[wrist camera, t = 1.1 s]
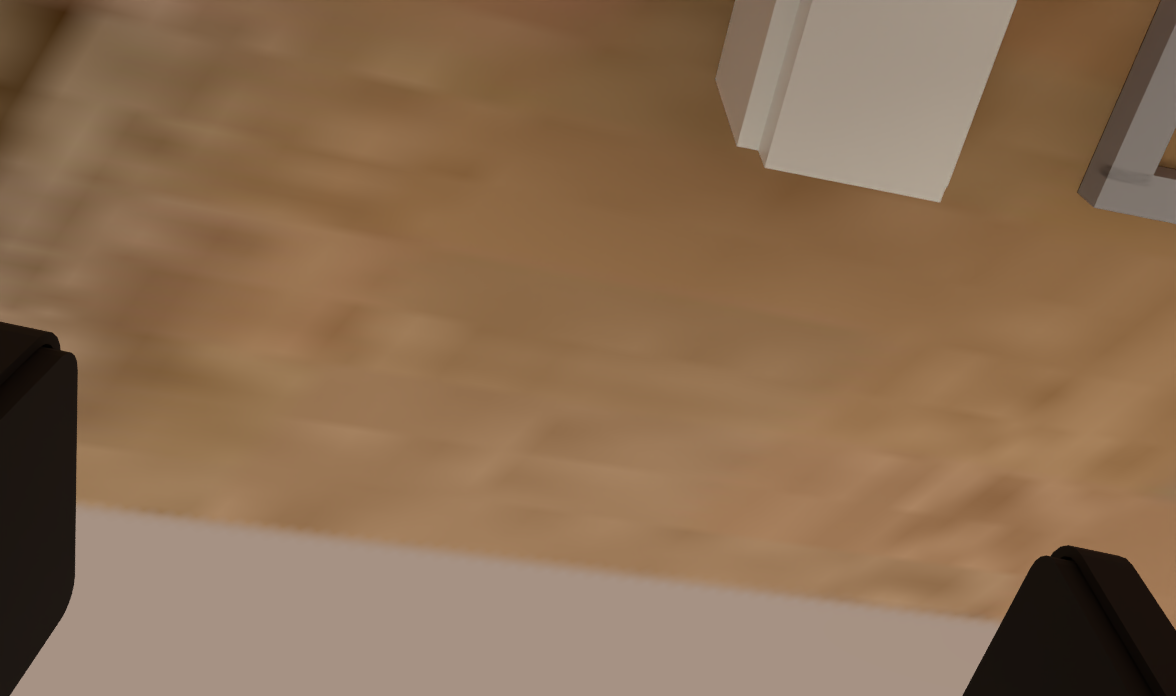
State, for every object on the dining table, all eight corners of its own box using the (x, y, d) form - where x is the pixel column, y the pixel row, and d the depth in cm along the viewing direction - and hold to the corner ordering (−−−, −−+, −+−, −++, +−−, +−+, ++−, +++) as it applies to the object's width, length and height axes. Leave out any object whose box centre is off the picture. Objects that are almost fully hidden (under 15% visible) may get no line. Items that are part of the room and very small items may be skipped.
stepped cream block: (774, -156, 27) (823, -132, 21) (965, -114, 27) (1070, -78, 21) (715, 78, 30) (742, 163, 24) (889, 114, 30) (961, 206, 24)
